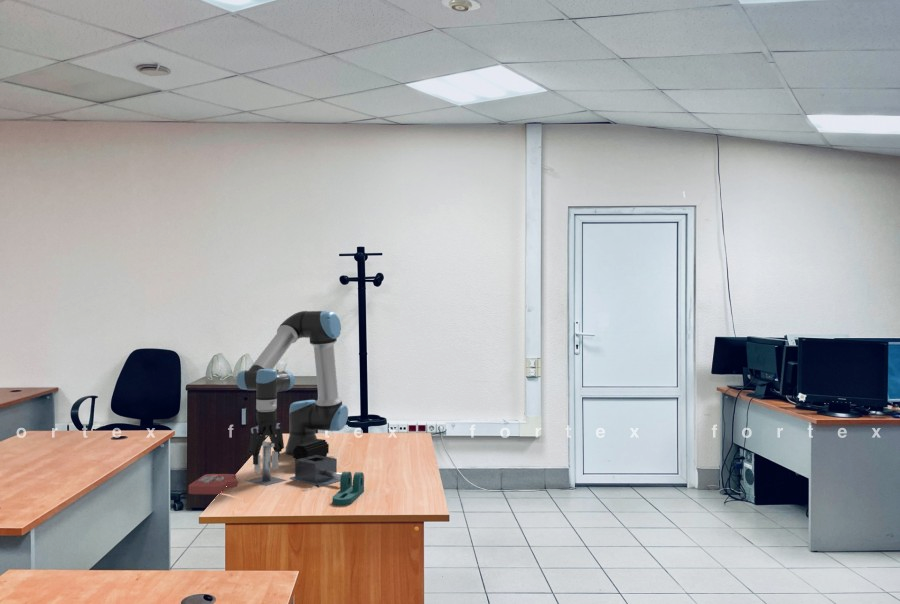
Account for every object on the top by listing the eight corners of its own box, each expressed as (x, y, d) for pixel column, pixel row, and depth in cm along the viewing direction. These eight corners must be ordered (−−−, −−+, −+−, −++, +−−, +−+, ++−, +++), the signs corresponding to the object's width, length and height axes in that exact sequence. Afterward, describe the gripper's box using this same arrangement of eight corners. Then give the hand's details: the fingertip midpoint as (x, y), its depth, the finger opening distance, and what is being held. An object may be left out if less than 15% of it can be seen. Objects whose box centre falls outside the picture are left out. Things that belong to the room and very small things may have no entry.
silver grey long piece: (257, 479, 265) (257, 441, 265) (263, 478, 268) (263, 440, 268) (269, 482, 261) (269, 444, 261) (275, 481, 263) (276, 442, 264)
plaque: (228, 484, 247) (186, 484, 248) (228, 495, 247) (186, 495, 248) (244, 472, 265) (205, 472, 265) (244, 482, 265) (205, 482, 265)
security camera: (332, 462, 297) (332, 438, 297) (306, 471, 281) (306, 446, 281) (319, 460, 300) (319, 437, 300) (292, 470, 283) (292, 445, 283)
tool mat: (245, 482, 264) (245, 480, 264) (266, 476, 272) (266, 475, 272) (266, 487, 257) (266, 485, 257) (287, 481, 265) (287, 480, 265)
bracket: (345, 491, 253) (345, 469, 253) (364, 492, 252) (364, 470, 252) (329, 505, 235) (329, 482, 235) (349, 506, 234) (349, 483, 234)
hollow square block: (289, 480, 267) (289, 459, 267) (313, 474, 277) (313, 453, 277) (331, 489, 254) (331, 467, 254) (354, 482, 263) (354, 461, 263)
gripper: (250, 414, 254) (250, 477, 254) (294, 407, 270) (294, 467, 270) (237, 412, 258) (237, 474, 258) (281, 406, 275) (281, 464, 275)
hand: (266, 470), depth 264 cm, fingers open, 8 cm apart
